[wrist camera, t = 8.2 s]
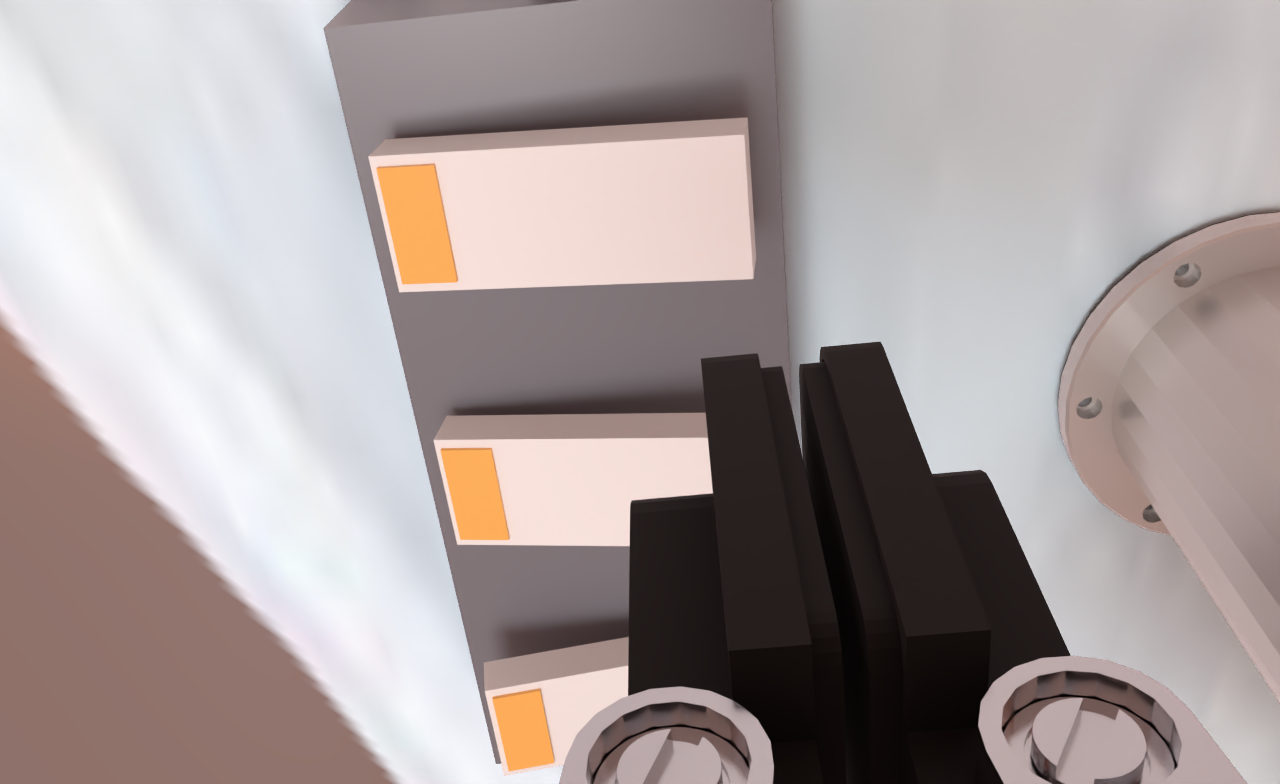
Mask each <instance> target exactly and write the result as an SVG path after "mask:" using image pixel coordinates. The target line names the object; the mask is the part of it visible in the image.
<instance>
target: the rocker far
mask: <svg viewBox="0 0 1280 784" xmlns="http://www.w3.org/2000/svg"><path fill="white" fill-rule="evenodd" d="M628 649H629V637H625V638H619V639H614V640H608V641H602V642H597V643H591V644H585V645H580V646H574V647H568V648H563V649H557V650H551V651H546V652H540V653H535V654H529V655H523V656H518V657H512V658H506V659H501V660H495V661H489V662H484V685H485V695H486V699H487V703H488V708H489V712H490V716H491V720H492V725H493V729H494V733H495V738H496V742H497V746H498V751H499V755H500V759H501V764H502V768H503V772H504V776H506V775H511V774H516V773H522V772H527V771H533V770H538V769H544V768H549V767H555V766H560V765H564V763H565V759H566V756H567V754H568V752H569V750H570V748H571V746H572V743H573V741H574V739H575V737H576V735H577V733H578V732H579V731H580V730H581V729H582V728H583V727H584V726H585V725H586V724H587V723H588V722H589V721H590V719H591V718H592V717H593V716H594V715H595V714H596V713H598V712H600V711H601V710H603V709H604V708H606V707H608V706H609V705H611V704H613V703H614V702H616V701H618V700H619V699H621V698H624V697H627V696H628Z"/></svg>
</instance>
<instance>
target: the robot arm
mask: <svg viewBox="0 0 1280 784" xmlns="http://www.w3.org/2000/svg"><path fill="white" fill-rule="evenodd" d="M1180 266H1182V267H1181V268H1179V267H1180ZM1178 268H1179V269H1178ZM701 368H702V379H703V390H704V401H705V412H706V423H707V434H708V445H709V456H710V467H711V478H712V489H713V493H711V494H699V495H688V496H676V497H665V498H653V499H642V500H632V501H631V504H630V558H629V649H628V696H627V697H624V698H621V699H619V700H618V701H616V702H614V703H613V704H611V705H609V706H608V707H606V708H604V709H603V710H601V711H600V712H598V713H596V714H595V715H594V716H593V717H592V718H591V719H590V721H589V722H588V723H587V724H586V725H585V726H584V727H583V728H582V729H581V730H580V731H579V732H578V733H577V735H576V737H575V739H574V741H573V743H572V746H571V748H570V750H569V752H568V754H567V756H566V759H565V763H564V766H563V770H562V774H561V778H560V782H559V784H1247V782H1246V781H1245V780H1244V779H1243V777H1242V776H1241V775H1240V773H1239V772H1238V771H1237V770H1236V768H1235V767H1234V766H1233V764H1232V763H1231V762H1230V760H1229V759H1228V758H1227V757H1226V755H1225V754H1224V753H1223V751H1222V750H1221V749H1220V747H1219V746H1218V745H1217V744H1216V742H1215V741H1214V740H1213V738H1212V737H1211V736H1210V735H1209V733H1208V732H1207V731H1206V729H1205V728H1204V727H1203V725H1202V724H1201V723H1200V722H1199V720H1198V719H1197V718H1196V716H1195V715H1194V714H1193V712H1192V711H1191V710H1190V709H1189V708H1188V707H1187V706H1186V705H1185V704H1184V703H1183V702H1182V701H1181V700H1180V699H1179V698H1178V697H1177V696H1176V695H1175V694H1174V693H1173V692H1172V691H1170V690H1169V689H1168V688H1167V687H1165V686H1163V685H1162V684H1160V683H1158V682H1157V681H1155V680H1153V679H1152V678H1150V677H1148V676H1146V675H1145V674H1143V673H1141V672H1140V671H1137V670H1134V669H1131V668H1128V667H1125V666H1122V665H1119V664H1117V663H1114V662H1111V661H1108V660H1102V659H1094V658H1087V657H1080V656H1070V653H1069V651H1068V649H1067V647H1066V645H1065V642H1064V640H1063V638H1062V636H1061V634H1060V631H1059V629H1058V627H1057V625H1056V623H1055V620H1054V618H1053V616H1052V614H1051V612H1050V610H1049V607H1048V605H1047V603H1046V601H1045V599H1044V596H1043V594H1042V592H1041V590H1040V588H1039V585H1038V583H1037V581H1036V579H1035V577H1034V574H1033V572H1032V570H1031V568H1030V566H1029V563H1028V561H1027V559H1026V557H1025V555H1024V552H1023V550H1022V548H1021V546H1020V544H1019V541H1018V539H1017V537H1016V535H1015V533H1014V530H1013V528H1012V526H1011V524H1010V522H1009V519H1008V517H1007V515H1006V513H1005V511H1004V508H1003V506H1002V504H1001V502H1000V500H999V497H998V495H997V493H996V491H995V489H994V486H993V484H992V482H991V481H990V479H989V477H988V476H987V474H986V473H985V472H983V471H981V470H975V471H963V472H952V473H940V474H932V473H931V471H930V468H929V466H928V463H927V460H926V458H925V455H924V452H923V450H922V447H921V445H920V442H919V439H918V437H917V434H916V431H915V429H914V426H913V424H912V421H911V418H910V416H909V413H908V411H907V408H906V405H905V403H904V400H903V397H902V395H901V392H900V390H899V387H898V384H897V382H896V379H895V377H894V374H893V371H892V369H891V366H890V363H889V361H888V358H887V356H886V353H885V350H884V348H883V346H882V344H881V342H872V343H861V344H850V345H839V346H829V347H821V350H820V363H809V364H800V367H799V382H800V405H801V428H802V451H803V459H802V454H801V450H800V445H799V440H798V436H797V431H796V427H795V422H794V417H793V413H792V408H791V404H790V399H789V394H788V390H787V385H786V381H785V376H784V372H783V368H782V366H777V367H766V368H761V366H760V361H759V356H758V353H753V354H743V355H732V356H721V357H710V358H701ZM1058 413H1059V424H1060V433H1061V436H1062V439H1063V442H1064V445H1065V448H1066V451H1067V454H1068V456H1069V459H1070V460H1071V462H1072V464H1073V465H1074V467H1075V469H1076V470H1077V472H1078V474H1079V476H1080V478H1081V480H1082V481H1083V483H1084V484H1085V485H1086V486H1087V487H1088V489H1089V490H1090V491H1091V492H1092V493H1093V495H1094V496H1095V497H1096V498H1097V499H1098V500H1099V502H1101V503H1102V504H1103V505H1105V506H1106V507H1107V508H1109V509H1110V510H1111V511H1113V512H1114V513H1115V514H1117V515H1118V516H1119V517H1121V518H1122V519H1124V520H1127V521H1129V522H1131V523H1133V524H1135V525H1137V526H1139V527H1141V528H1144V529H1146V530H1150V531H1154V532H1158V533H1162V534H1166V535H1170V536H1172V537H1173V539H1174V540H1175V542H1176V543H1177V545H1178V547H1179V548H1180V550H1181V551H1182V553H1183V554H1184V556H1185V557H1186V559H1187V561H1188V562H1189V564H1190V565H1191V567H1192V568H1193V570H1194V571H1195V573H1196V575H1197V576H1198V578H1199V579H1200V581H1201V582H1202V584H1203V585H1204V587H1205V589H1206V590H1207V592H1208V593H1209V595H1210V596H1211V598H1212V599H1213V601H1214V603H1215V604H1216V606H1217V607H1218V609H1219V610H1220V612H1221V613H1222V615H1223V617H1224V618H1225V620H1226V621H1227V623H1228V624H1229V626H1230V627H1231V629H1232V631H1233V632H1234V634H1235V635H1236V637H1237V638H1238V640H1239V641H1240V643H1241V645H1242V646H1243V648H1244V649H1245V651H1246V652H1247V654H1248V655H1249V657H1250V659H1251V660H1252V662H1253V663H1254V665H1255V666H1256V668H1257V669H1258V671H1259V673H1260V674H1261V676H1262V677H1263V679H1264V680H1265V682H1266V683H1267V685H1268V687H1269V688H1270V690H1271V691H1272V693H1273V694H1274V696H1275V697H1276V699H1277V701H1278V702H1279V704H1280V212H1277V213H1267V214H1257V215H1248V216H1245V217H1241V218H1237V219H1233V220H1230V221H1226V222H1222V223H1218V224H1215V225H1211V226H1209V227H1207V228H1204V229H1202V230H1200V231H1198V232H1195V233H1193V234H1191V235H1188V236H1186V237H1184V238H1182V239H1179V240H1177V241H1175V242H1173V243H1172V244H1170V245H1169V246H1167V247H1166V248H1164V249H1162V250H1161V251H1159V252H1158V253H1156V254H1154V255H1153V256H1151V257H1150V258H1148V259H1147V260H1145V261H1143V262H1142V263H1141V264H1140V265H1138V266H1137V267H1136V268H1135V269H1134V270H1133V271H1132V272H1130V273H1129V274H1128V275H1127V276H1126V277H1125V278H1123V279H1122V280H1121V281H1120V282H1119V283H1118V284H1117V285H1115V286H1114V287H1113V288H1112V289H1111V291H1110V292H1109V293H1108V294H1107V295H1106V297H1105V298H1104V299H1103V300H1102V301H1101V303H1100V304H1099V305H1098V306H1097V307H1096V309H1095V310H1094V311H1093V312H1092V313H1091V315H1090V316H1089V318H1088V319H1087V321H1086V323H1085V324H1084V326H1083V328H1082V330H1081V331H1080V333H1079V335H1078V336H1077V338H1076V340H1075V342H1074V343H1073V345H1072V348H1071V351H1070V353H1069V356H1068V359H1067V362H1066V365H1065V367H1064V370H1063V373H1062V377H1061V384H1060V392H1059V399H1058Z"/></svg>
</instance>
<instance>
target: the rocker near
mask: <svg viewBox="0 0 1280 784" xmlns="http://www.w3.org/2000/svg"><path fill="white" fill-rule="evenodd" d="M368 158H369V162H370V166H371V171H372V175H373V180H374V184H375V188H376V193H377V197H378V201H379V206H380V210H381V215H382V219H383V223H384V228H385V232H386V237H387V241H388V245H389V250H390V254H391V258H392V263H393V267H394V272H395V276H396V280H397V285H398V289H399V292H421V291H448V290H475V289H502V288H529V287H556V286H583V285H610V284H637V283H664V282H691V281H718V280H745V279H753V278H754V270H755V263H756V247H755V231H754V214H753V198H752V182H751V165H750V149H749V133H748V117H746V118H729V119H713V120H696V121H680V122H663V123H647V124H630V125H614V126H597V127H581V128H564V129H548V130H531V131H515V132H498V133H482V134H465V135H449V136H432V137H416V138H399V139H385V140H384V141H383V142H382V143H381V144H380V145H379V146H378V147H377V148H376V149H375V150H374V151H373V152H372V153H371V154H370V155H369V156H368Z"/></svg>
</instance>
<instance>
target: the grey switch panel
mask: <svg viewBox="0 0 1280 784" xmlns="http://www.w3.org/2000/svg"><path fill="white" fill-rule="evenodd" d="M324 32H325V36H326V41H327V45H328V49H329V53H330V58H331V62H332V66H333V70H334V75H335V79H336V83H337V87H338V92H339V96H340V100H341V105H342V109H343V113H344V117H345V122H346V126H347V130H348V134H349V139H350V143H351V147H352V151H353V156H354V160H355V164H356V168H357V173H358V177H359V181H360V186H361V190H362V194H363V198H364V203H365V207H366V211H367V215H368V220H369V224H370V228H371V232H372V237H373V241H374V245H375V249H376V254H377V258H378V262H379V267H380V271H381V275H382V279H383V284H384V288H385V292H386V296H387V301H388V305H389V309H390V313H391V318H392V322H393V326H394V330H395V335H396V339H397V343H398V348H399V352H400V356H401V360H402V365H403V369H404V373H405V377H406V382H407V386H408V390H409V394H410V399H411V403H412V407H413V411H414V416H415V420H416V424H417V429H418V433H419V437H420V441H421V446H422V450H423V454H424V458H425V463H426V467H427V471H428V475H429V480H430V484H431V488H432V492H433V497H434V501H435V505H436V510H437V514H438V518H439V522H440V527H441V531H442V535H443V539H444V544H445V548H446V552H447V556H448V561H449V565H450V569H451V573H452V578H453V582H454V586H455V591H456V595H457V599H458V603H459V608H460V612H461V616H462V620H463V625H464V629H465V633H466V637H467V642H468V646H469V650H470V654H471V659H472V663H473V667H474V672H475V676H476V680H477V684H478V689H479V693H480V697H481V701H482V706H483V710H484V714H485V718H486V723H487V727H488V731H489V735H490V740H491V744H492V748H493V753H494V757H495V761H496V764H500V763H501V759H500V755H499V751H498V746H497V742H496V738H495V733H494V729H493V725H492V720H491V716H490V712H489V708H488V703H487V699H486V695H485V685H484V662H489V661H495V660H501V659H506V658H512V657H518V656H523V655H529V654H535V653H540V652H546V651H551V650H557V649H563V648H568V647H574V646H580V645H585V644H591V643H597V642H602V641H608V640H614V639H619V638H625V637H629V558H630V546H547V545H457V541H456V537H455V532H454V528H453V524H452V519H451V515H450V510H449V506H448V502H447V497H446V493H445V488H444V484H443V480H442V475H441V471H440V467H439V462H438V458H437V453H436V449H435V445H434V438H435V436H436V434H437V432H438V431H439V429H440V427H441V425H442V423H443V421H444V420H445V418H446V416H468V415H551V414H633V413H706V412H705V401H704V390H703V379H702V368H701V358H710V357H721V356H732V355H743V354H753V353H758V356H759V361H760V366H761V368H766V367H777V366H782V368H783V372H784V376H785V381H786V385H787V390H788V394H789V399H790V404H791V386H790V366H789V345H788V325H787V304H786V283H785V263H784V242H783V221H782V201H781V180H780V159H779V139H778V118H777V97H776V77H775V56H774V35H773V15H772V0H351V1H350V2H349V3H348V4H347V5H346V6H345V7H344V8H343V9H342V10H341V11H340V12H339V13H338V14H337V15H336V16H335V17H334V18H333V19H332V20H331V21H330V22H329V23H328V25H327V26H326V27H325V28H324ZM746 117H748V133H749V149H750V165H751V182H752V198H753V214H754V231H755V247H756V263H755V270H754V278H753V279H745V280H718V281H691V282H664V283H637V284H610V285H583V286H556V287H529V288H502V289H475V290H448V291H421V292H399V289H398V285H397V280H396V276H395V272H394V267H393V263H392V258H391V254H390V250H389V245H388V241H387V237H386V232H385V228H384V223H383V219H382V215H381V210H380V206H379V201H378V197H377V193H376V188H375V184H374V180H373V175H372V171H371V166H370V162H369V158H368V156H369V155H370V154H371V153H372V152H373V151H374V150H375V149H376V148H377V147H378V146H379V145H380V144H381V143H382V142H383V141H384V140H385V139H399V138H416V137H432V136H449V135H465V134H482V133H498V132H515V131H531V130H548V129H564V128H581V127H597V126H614V125H630V124H647V123H663V122H680V121H696V120H713V119H729V118H746ZM791 408H792V407H791Z"/></svg>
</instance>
